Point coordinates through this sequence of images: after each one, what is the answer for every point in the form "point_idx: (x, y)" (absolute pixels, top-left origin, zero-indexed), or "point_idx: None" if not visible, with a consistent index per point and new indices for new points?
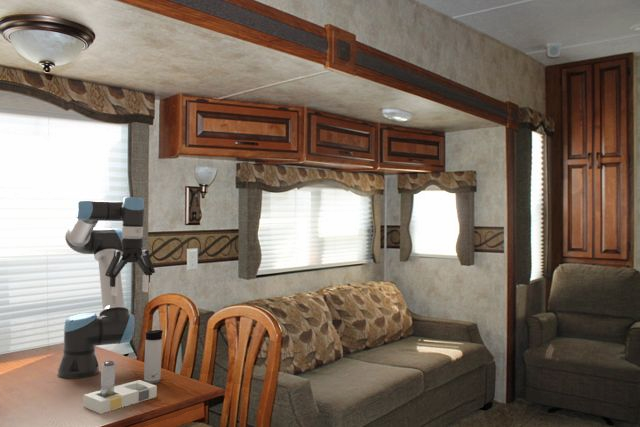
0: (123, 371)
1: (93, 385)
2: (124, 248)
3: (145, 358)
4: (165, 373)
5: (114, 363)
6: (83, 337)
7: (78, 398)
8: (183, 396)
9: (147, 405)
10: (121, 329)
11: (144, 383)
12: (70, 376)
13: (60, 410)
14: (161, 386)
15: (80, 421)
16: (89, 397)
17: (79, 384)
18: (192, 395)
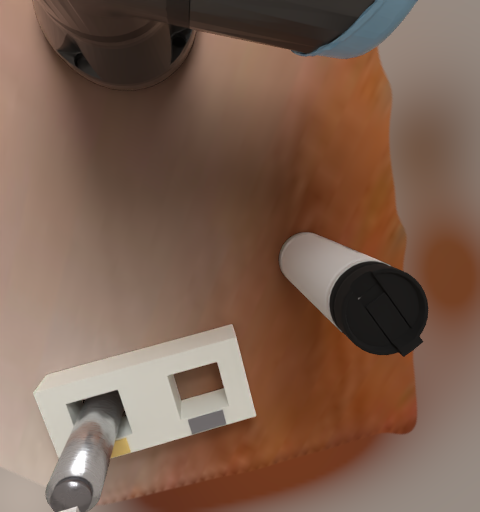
0: (272, 93)
1: (127, 197)
2: None
3: (300, 279)
4: (377, 201)
5: (99, 484)
6: (75, 4)
7: (50, 299)
8: (312, 426)
9: (203, 444)
10: (303, 39)
11: (234, 378)
12: (72, 68)
13: None
14: (304, 319)
15: (13, 472)
16: (44, 418)
17: (88, 159)
18: (335, 429)
